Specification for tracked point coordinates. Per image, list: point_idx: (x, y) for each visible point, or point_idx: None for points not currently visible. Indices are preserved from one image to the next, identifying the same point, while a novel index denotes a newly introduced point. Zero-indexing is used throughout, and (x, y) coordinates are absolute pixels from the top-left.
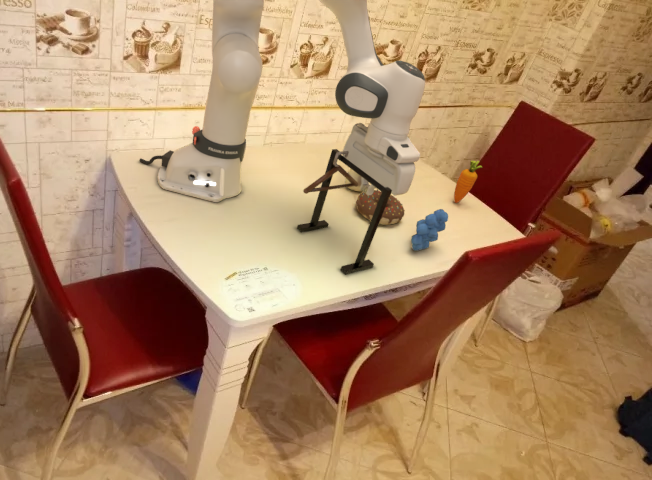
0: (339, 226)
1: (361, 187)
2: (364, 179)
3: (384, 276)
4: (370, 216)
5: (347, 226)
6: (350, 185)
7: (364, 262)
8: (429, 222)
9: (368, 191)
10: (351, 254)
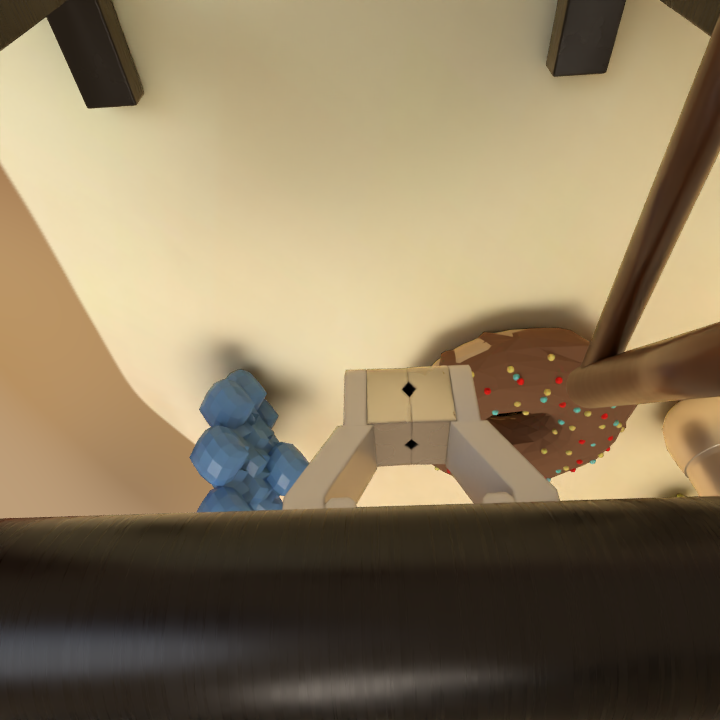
0: (518, 159)
1: (455, 385)
2: (483, 473)
3: (20, 118)
4: (482, 345)
5: (497, 207)
6: (600, 333)
7: (95, 46)
8: (205, 502)
9: (345, 401)
10: (239, 40)
